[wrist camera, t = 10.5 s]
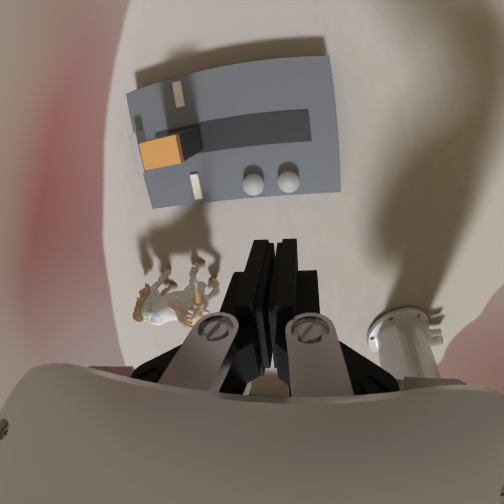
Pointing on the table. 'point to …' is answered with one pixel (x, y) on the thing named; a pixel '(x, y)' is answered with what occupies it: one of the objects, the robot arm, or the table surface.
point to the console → (243, 131)
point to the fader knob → (170, 148)
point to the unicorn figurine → (175, 301)
